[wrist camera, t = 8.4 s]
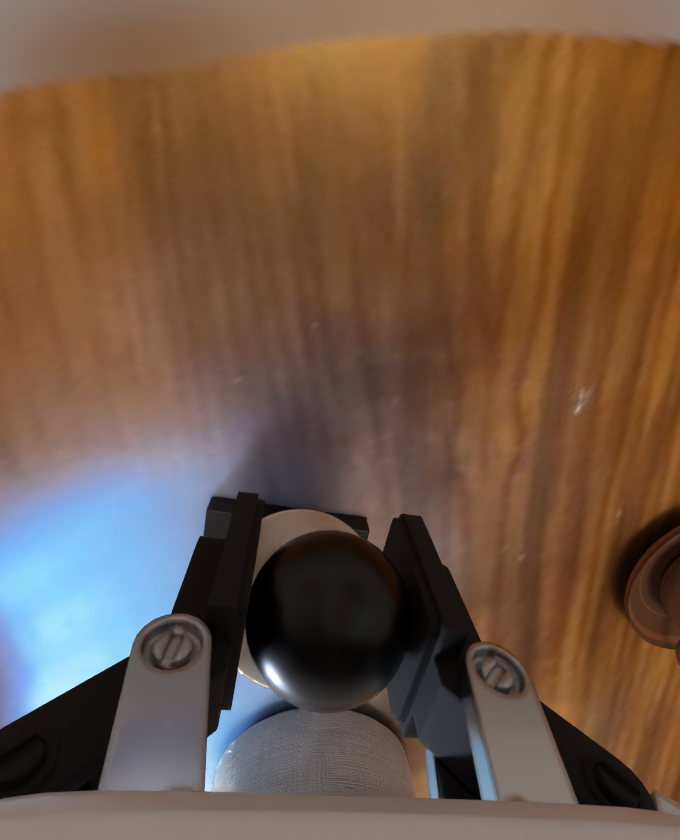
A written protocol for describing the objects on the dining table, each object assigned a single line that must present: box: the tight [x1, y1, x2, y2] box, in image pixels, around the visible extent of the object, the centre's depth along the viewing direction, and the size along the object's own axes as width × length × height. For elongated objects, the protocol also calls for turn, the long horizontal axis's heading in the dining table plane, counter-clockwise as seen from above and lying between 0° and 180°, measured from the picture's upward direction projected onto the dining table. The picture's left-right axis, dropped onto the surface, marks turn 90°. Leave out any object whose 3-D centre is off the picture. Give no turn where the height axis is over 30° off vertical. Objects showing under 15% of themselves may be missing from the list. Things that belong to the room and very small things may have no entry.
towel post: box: [238, 509, 411, 713], centre depth 16 cm, size 6×6×19 cm
